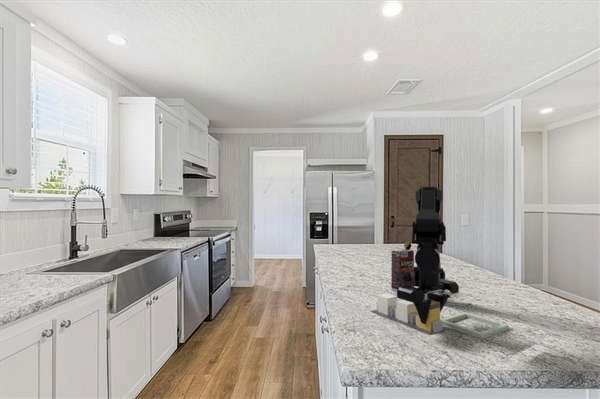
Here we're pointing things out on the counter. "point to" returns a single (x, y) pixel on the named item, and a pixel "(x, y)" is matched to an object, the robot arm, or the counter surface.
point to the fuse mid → (405, 310)
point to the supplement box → (401, 265)
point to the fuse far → (386, 303)
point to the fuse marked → (431, 316)
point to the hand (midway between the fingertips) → (428, 322)
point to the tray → (483, 334)
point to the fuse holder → (412, 321)
